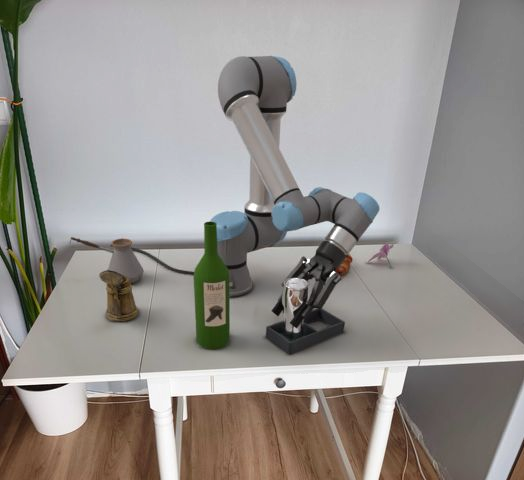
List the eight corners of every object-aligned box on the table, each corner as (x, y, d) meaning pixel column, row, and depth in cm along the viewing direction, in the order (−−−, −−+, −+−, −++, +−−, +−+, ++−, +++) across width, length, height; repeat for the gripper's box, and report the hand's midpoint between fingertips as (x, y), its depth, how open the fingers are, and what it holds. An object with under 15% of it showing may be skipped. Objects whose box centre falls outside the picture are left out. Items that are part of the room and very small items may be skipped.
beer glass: (303, 341, 132) (308, 290, 123) (277, 338, 133) (280, 287, 125) (307, 328, 137) (311, 279, 129) (282, 325, 138) (285, 276, 130)
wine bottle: (202, 352, 130) (197, 231, 112) (192, 335, 137) (186, 219, 119) (234, 345, 133) (234, 227, 115) (223, 329, 140) (221, 215, 122)
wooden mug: (99, 330, 137) (89, 270, 127) (110, 306, 148) (101, 249, 138) (132, 330, 138) (124, 270, 128) (140, 307, 149) (134, 250, 139)
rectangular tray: (265, 337, 137) (266, 326, 135) (318, 317, 147) (320, 307, 145) (289, 354, 130) (290, 343, 128) (343, 332, 141) (344, 321, 139)
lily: (395, 261, 187) (388, 237, 185) (410, 261, 176) (402, 236, 173) (367, 274, 186) (359, 249, 184) (380, 274, 174) (371, 248, 172)
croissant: (324, 263, 189) (316, 245, 186) (349, 252, 187) (341, 233, 183) (331, 286, 171) (323, 267, 168) (359, 274, 169) (351, 254, 165)
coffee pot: (144, 271, 170) (140, 228, 162) (143, 286, 160) (138, 241, 152) (79, 274, 167) (71, 230, 158) (74, 289, 157) (65, 244, 149)
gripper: (369, 268, 126) (315, 341, 127) (316, 243, 139) (268, 310, 140) (357, 253, 120) (301, 330, 121) (303, 229, 134) (253, 298, 134)
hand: (283, 319), depth 130 cm, fingers closed on beer glass, 7 cm apart
